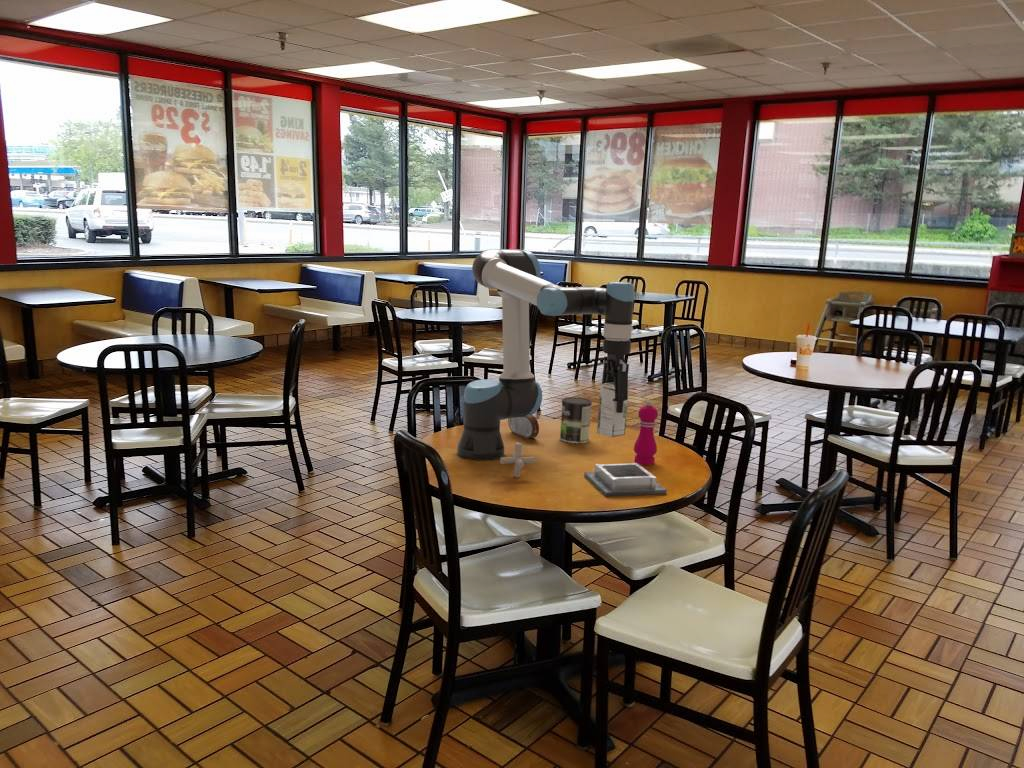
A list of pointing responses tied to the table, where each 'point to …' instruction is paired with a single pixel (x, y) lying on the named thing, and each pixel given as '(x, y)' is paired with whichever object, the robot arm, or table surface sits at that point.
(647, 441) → the pepper mill
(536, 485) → the table surface
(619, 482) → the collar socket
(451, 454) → the table surface
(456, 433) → the table surface
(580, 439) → the coffee can
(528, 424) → the tin
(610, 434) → the syrup box
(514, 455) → the pipe connector
